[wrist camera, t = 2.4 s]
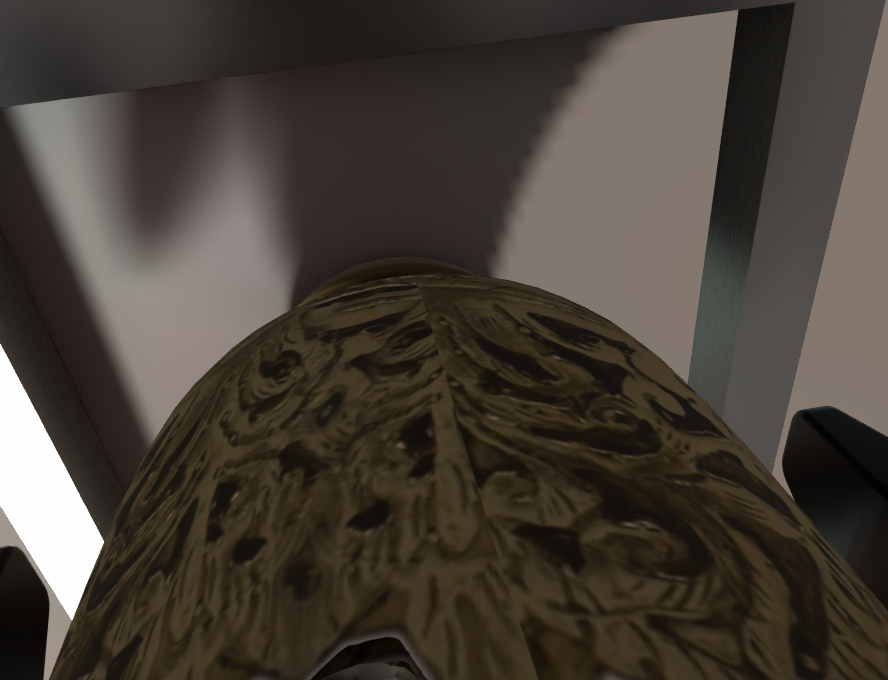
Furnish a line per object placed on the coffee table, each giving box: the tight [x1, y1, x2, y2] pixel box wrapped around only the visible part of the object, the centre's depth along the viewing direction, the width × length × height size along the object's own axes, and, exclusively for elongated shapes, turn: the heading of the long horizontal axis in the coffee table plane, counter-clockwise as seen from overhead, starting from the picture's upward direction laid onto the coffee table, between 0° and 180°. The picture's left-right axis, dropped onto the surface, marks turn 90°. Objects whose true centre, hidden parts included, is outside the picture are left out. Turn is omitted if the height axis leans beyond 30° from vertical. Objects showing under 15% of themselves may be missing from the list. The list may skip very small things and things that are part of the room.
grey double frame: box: [0, 0, 885, 620], centre depth 15 cm, size 22×11×1 cm, turn 5°
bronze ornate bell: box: [49, 256, 888, 680], centre depth 9 cm, size 8×7×8 cm
